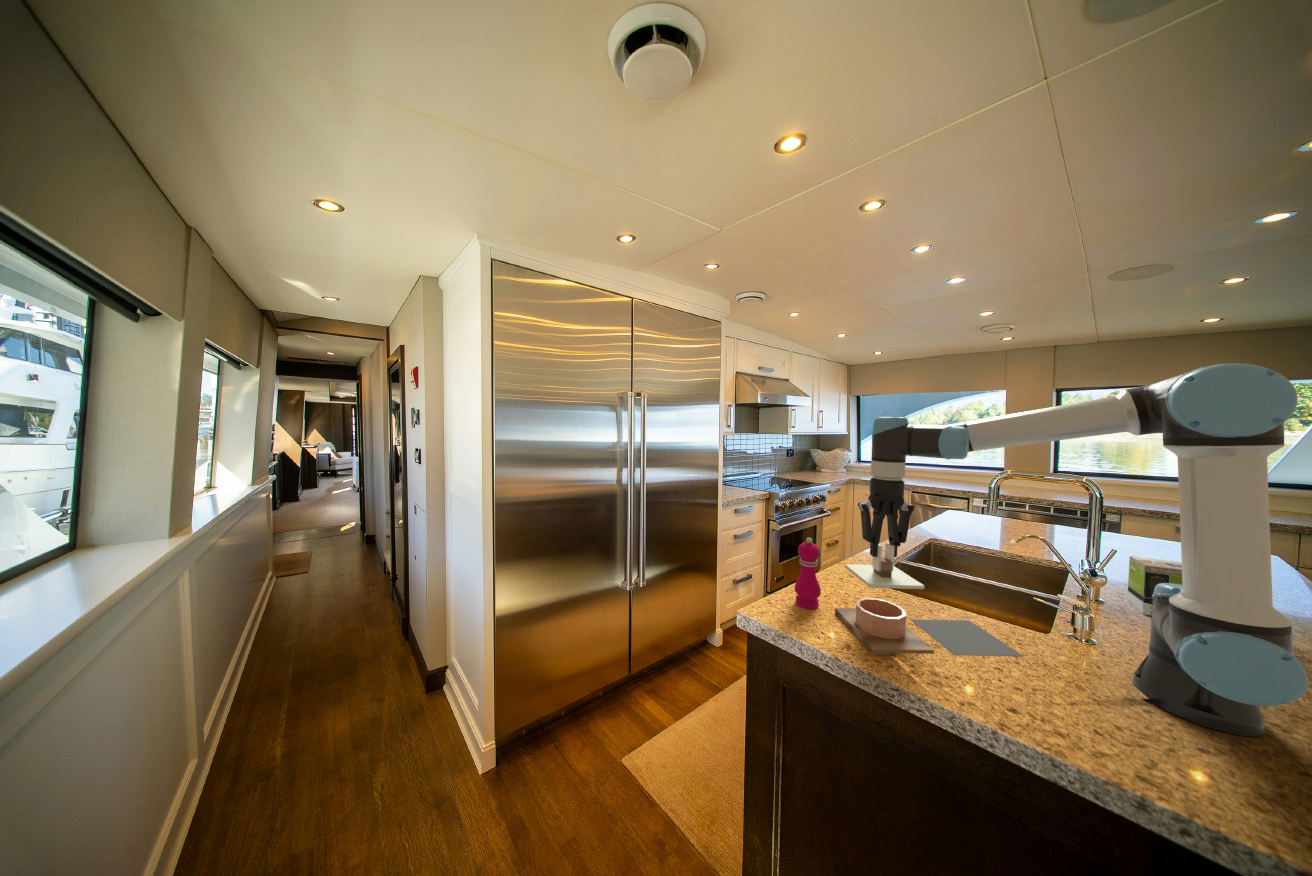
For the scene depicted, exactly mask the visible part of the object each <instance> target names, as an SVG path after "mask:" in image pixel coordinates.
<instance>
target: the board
mask: <svg viewBox="0 0 1312 876" xmlns="http://www.w3.org/2000/svg"><path fill="white" fill-rule="evenodd" d="M834 614H835V615H836V616H837V617H838V618H839V619H840V621H842V622H843V623H844V624H845V626H846V627H847V629H849V630H850V632H852V634H853V635H855V637H856V638H857V639H858V640H859V642H861V643H862V645H863V646H865V649H867V650H868V651H869V653H871V654H872V656H886V657H887V656H892V657H893V656H894V657H896V656H897V655H898V654H896V653H897V652H899V653H935V650H934V648H932V647H931V646H930V645H929V644H928V643H927V642H925V641H924V640H923V639H921V638H920V637H919V636H918V635H917V634H916V633H914V632H913V631H912V630H911V629H910V628H909V627H907V626H906V627H905V636H903V637H901V638H899V639H886V638H882V637H878V636H874V635H871V634H869V633H867V632H865V631H863V630H861V629H860V628H859V627H858V626H857V625H856V607H835V608H834Z"/></svg>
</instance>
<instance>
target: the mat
mask: <svg viewBox="0 0 1312 876" xmlns="http://www.w3.org/2000/svg"><path fill="white" fill-rule="evenodd" d="M909 620H910V621H911V622H912V623H913V624H914V625H916V626H917V627H918V628H920V630H922V631H923V632H925V633H926V634H927V635H928V636H930V637H931V638H932V639H933V640H934V641H936V642H937V643H938V644H939V645H940V646H943V648H945V649H946V650H947V651H948V652H950V654H953V656H978V657H979V656H981V657H982V656H983V657H985V656H987V657H1024V655H1023V654H1022V653H1021V652H1018V651H1017V650H1015V649H1014V648H1012V647H1011V646H1010V645H1008V644H1007V643H1005V642H1003V641H1001V640H1000V639H999V638H997V637H995V636H994V635H992V634H991V633H990V632H987V631H986V630H985V629H983V628H981V626H978V625H977V624H975V623H974V622H972V621H971V620H969V619H967V620H965V619H962V620H961V619H959V620H958V619H913V618H912V619H909Z"/></svg>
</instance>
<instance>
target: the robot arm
mask: <svg viewBox="0 0 1312 876" xmlns="http://www.w3.org/2000/svg"><path fill="white" fill-rule="evenodd" d="M1297 405H1298V392H1297V389H1296V387H1295V386H1294V385H1293V383H1292V382H1291V381H1290V380H1289V379H1288V378H1286V376H1284V375H1282V374H1281V373H1279V372H1277V371H1275V370H1272V369H1271V368H1268V367H1264V366H1261V365H1256V364H1249V363H1238V362H1237V363H1236V362H1235V363H1217V364H1211V365H1205V366H1200V367H1197V368H1194V369H1193V370H1190V371H1187V372H1183V373H1181V374H1178V375H1175V376H1173V377H1170V378H1167V379H1164V380H1161V381H1157V382H1154V383H1151V384H1146V385H1142V386H1138V387H1133V388H1132V387H1131V388H1126V389H1122V390H1121V391H1120V392H1119V393H1118V394H1117V395H1115V396H1110V397H1109V396H1107V397H1104V398H1098V399H1091V400H1086V401H1080V402H1073V403H1069V404H1063V405H1062V404H1061V405H1056V406H1052V407H1045V408H1038V409H1032V410H1027V411H1023V412H1016V413H1010V414H1009V413H1008V414H1004V415H999V416H992V417H987V418H986V417H985V418H980V419H976V420H969V421H968V420H967V421H965V422H964V421H963V422H957V423H951V424H944V425H914V424H909V422H908V418H907V417H905V416H904V417H903V416H900V417H899V416H878V417H877V416H876V418H875V419H874V420H873V424H872V425H873V427H872V433H871V456H870V457H871V460H870V462H871V463H870V475H871V476H872V477H871V478H870V479H869V481H870V482H869V496H868V497H867V500H866V501H863V502H861V501H860V502H858V504H857V506H858V508H859V512H860V518H861V519H860V520H861V533H862V534H861V535H862V540H865V541H866V542H868V543H870V544H869V554H870V556H871V557H872V562H871V565H872V567H873V568H875V569H876V570H877V571H881V561H882V556H883V545H881V544H880V541H881V535H882V531H883V523H884V519H886V522H887V537H888V542H885V544H884V545H885V547H884V557H885V558H887V559H888V560H890V561H891V562H892V571H893V567H894V566H895V564H894V563H895V558H897V557H898V548H899V547H900V546H901V544H906V542H907V538H908V532H909V527H910V521H911V515H912V513H913V512H914V510H915V505H913V504H910V503H908V502H905V498H904V494H905V480H904V478H906V463H907V462H906V458H907V457H908V456H909V457H923V458H932V459H933V458H934V459H945V460H948V461H949V460H963V459H966V458H967V457H968V453H971V452H978V451H983V450H984V451H985V450H993V449H1001V448H1009V447H1015V446H1024V445H1025V446H1026V445H1033V444H1041V443H1048V442H1055V441H1056V442H1057V441H1063V440H1072V439H1080V438H1089V437H1095V436H1104V435H1113V434H1121V433H1130V434H1132V435H1135V436H1144V435H1151V434H1152V435H1154V434H1162V446H1163V448H1165V449H1167V450H1168V451H1170V452H1172V453H1173V454H1174V455H1175V456H1176V457H1177V473H1178V474H1177V475H1178V476H1177V477H1178V501H1179V502H1178V503H1179V504H1178V505H1179V526H1180V528H1179V529H1180V530H1179V531H1180V552H1181V553H1180V554H1181V555H1180V556H1181V563H1182V584H1183V585H1180V584H1172V583H1160V584H1157V585H1156V586H1155V589H1154V594H1153V595H1152V598H1153V608H1152V616H1151V621H1150V622H1151V624H1150V635H1149V646H1148V647H1149V648H1148V653H1147V655H1146V656H1145V657H1144V658H1143V660H1142V662H1141V663H1140V664H1139V666H1138V667H1137V668H1136V670H1135V671H1134V672H1133V678H1132V686H1133V687H1135V688H1136V689H1138V691H1140V692H1141V693H1142V694H1143V695H1145V696H1146V697H1147V698H1145V700H1147V701H1148V702H1149V703H1151V704H1153V705H1154V706H1156V707H1158V708H1160V709H1162V710H1164V711H1166V712H1168V713H1171V714H1172V715H1175V716H1177V717H1179V718H1180V719H1184V720H1186V721H1188V722H1191V723H1194V724H1197V725H1200V726H1202V727H1206V728H1209V729H1211V730H1214V731H1218V732H1219V731H1220V732H1223V733H1226V734H1232V735H1236V736H1244V737H1258V736H1262V735H1263V734H1264V733H1265V727H1266V718H1265V716H1264V714H1263V713H1262V710H1261V707H1277V706H1281V705H1286V704H1290V703H1293V702H1296V701H1298V700H1299V699H1301V698H1302V697H1303V696H1304V695H1305V694H1306V692H1307V690H1308V686H1309V678H1308V677H1309V676H1308V675H1307V672H1306V670H1305V667H1304V665H1302V663H1301V661H1300V660H1299V659H1298V658H1297V657H1296V656H1295V655H1294V653H1293V651H1294V650H1293V634H1292V633H1293V632H1292V631H1293V630H1292V621H1291V619H1290V618H1288V617H1287V616H1286V615H1284V614H1283V613H1281V612H1280V611H1279V610H1277V609H1276V608H1275V607H1274V606H1273V605H1274V604H1273V579H1272V578H1273V577H1272V553H1271V552H1272V551H1271V529H1270V528H1271V527H1270V522H1271V520H1270V497H1269V495H1270V494H1269V475H1268V474H1269V473H1268V472H1269V471H1268V457H1269V456H1271V454H1274V453H1275V452H1278V451H1279V450H1281V449H1282V448H1284V447H1286V446H1285V422H1286V421H1288V420H1289V418H1290V417H1291V416H1292V415H1293V414H1294V412H1295V410H1296V408H1297ZM871 509H872V510H873V511H872V516H871V511H870V510H871ZM899 510H900V511H899ZM871 517H872V518H871Z"/></svg>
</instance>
